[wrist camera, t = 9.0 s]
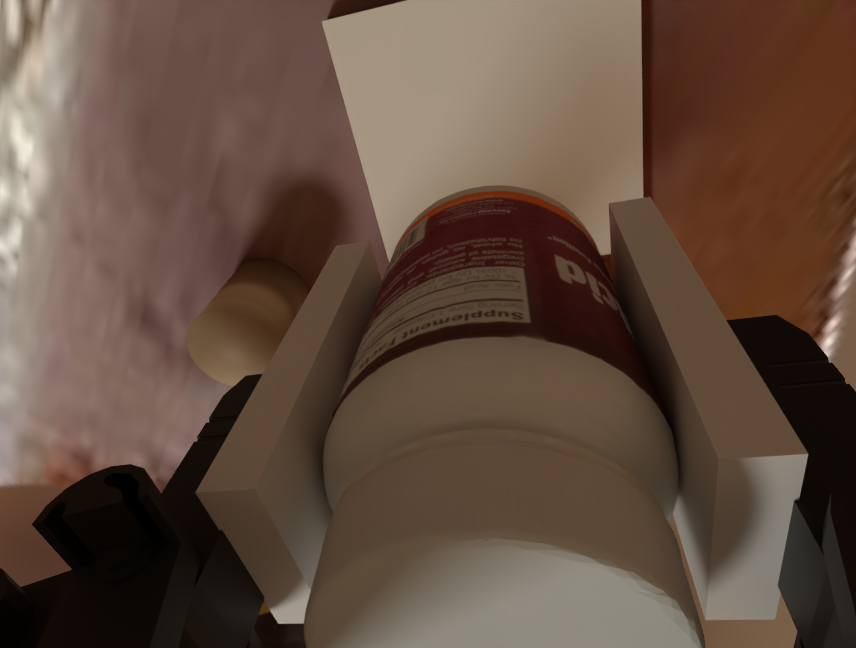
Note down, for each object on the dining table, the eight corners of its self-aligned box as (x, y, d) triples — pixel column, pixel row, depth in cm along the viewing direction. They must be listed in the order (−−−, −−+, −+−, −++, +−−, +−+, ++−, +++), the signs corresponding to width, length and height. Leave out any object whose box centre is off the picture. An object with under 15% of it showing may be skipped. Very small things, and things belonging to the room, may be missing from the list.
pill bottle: (627, 330, 13) (790, 757, 6) (441, 387, 14) (393, 787, 7) (563, 139, 11) (700, 450, 4) (352, 228, 12) (165, 575, 5)
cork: (218, 265, 25) (170, 318, 21) (293, 253, 24) (256, 307, 20) (250, 331, 27) (210, 391, 23) (320, 322, 26) (290, 382, 22)
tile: (326, 19, 19) (321, 21, 18) (636, -58, 17) (640, -58, 16) (397, 277, 24) (395, 283, 24) (640, 242, 22) (643, 249, 22)
